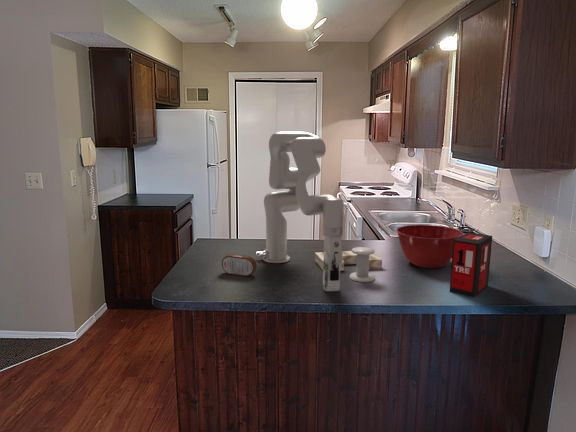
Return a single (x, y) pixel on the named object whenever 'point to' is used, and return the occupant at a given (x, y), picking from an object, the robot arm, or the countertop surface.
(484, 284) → the cleaning product box
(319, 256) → the notched board
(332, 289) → the syrup box
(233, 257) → the tin
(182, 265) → the countertop surface
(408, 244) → the mixing bowl
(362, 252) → the doorknob
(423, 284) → the countertop surface
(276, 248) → the robot arm
